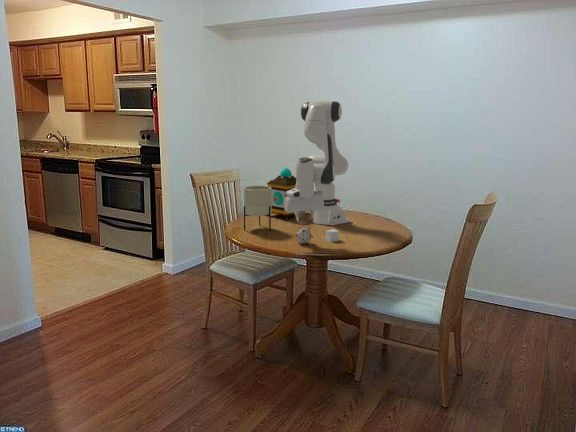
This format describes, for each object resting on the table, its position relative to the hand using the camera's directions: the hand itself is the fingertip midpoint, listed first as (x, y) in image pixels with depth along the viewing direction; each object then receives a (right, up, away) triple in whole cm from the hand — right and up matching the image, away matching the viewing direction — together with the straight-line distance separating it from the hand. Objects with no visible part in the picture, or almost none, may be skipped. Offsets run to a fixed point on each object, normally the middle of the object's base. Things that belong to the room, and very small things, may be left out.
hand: (304, 219), depth 226 cm
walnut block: (0, -2, 0) cm, 2 cm away
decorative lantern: (-9, +2, +63) cm, 64 cm away
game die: (0, -12, +3) cm, 12 cm away
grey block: (+15, -10, +9) cm, 20 cm away
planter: (-25, -5, +31) cm, 40 cm away
